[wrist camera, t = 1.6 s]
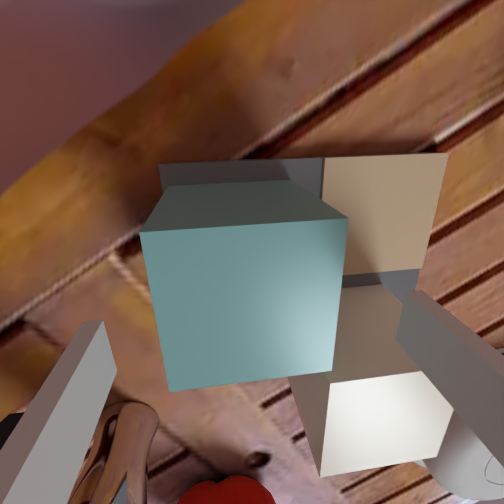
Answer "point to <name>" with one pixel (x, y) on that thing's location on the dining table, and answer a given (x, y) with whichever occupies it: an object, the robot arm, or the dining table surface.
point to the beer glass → (118, 457)
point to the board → (352, 204)
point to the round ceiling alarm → (466, 463)
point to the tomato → (228, 492)
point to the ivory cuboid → (369, 393)
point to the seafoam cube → (244, 281)
